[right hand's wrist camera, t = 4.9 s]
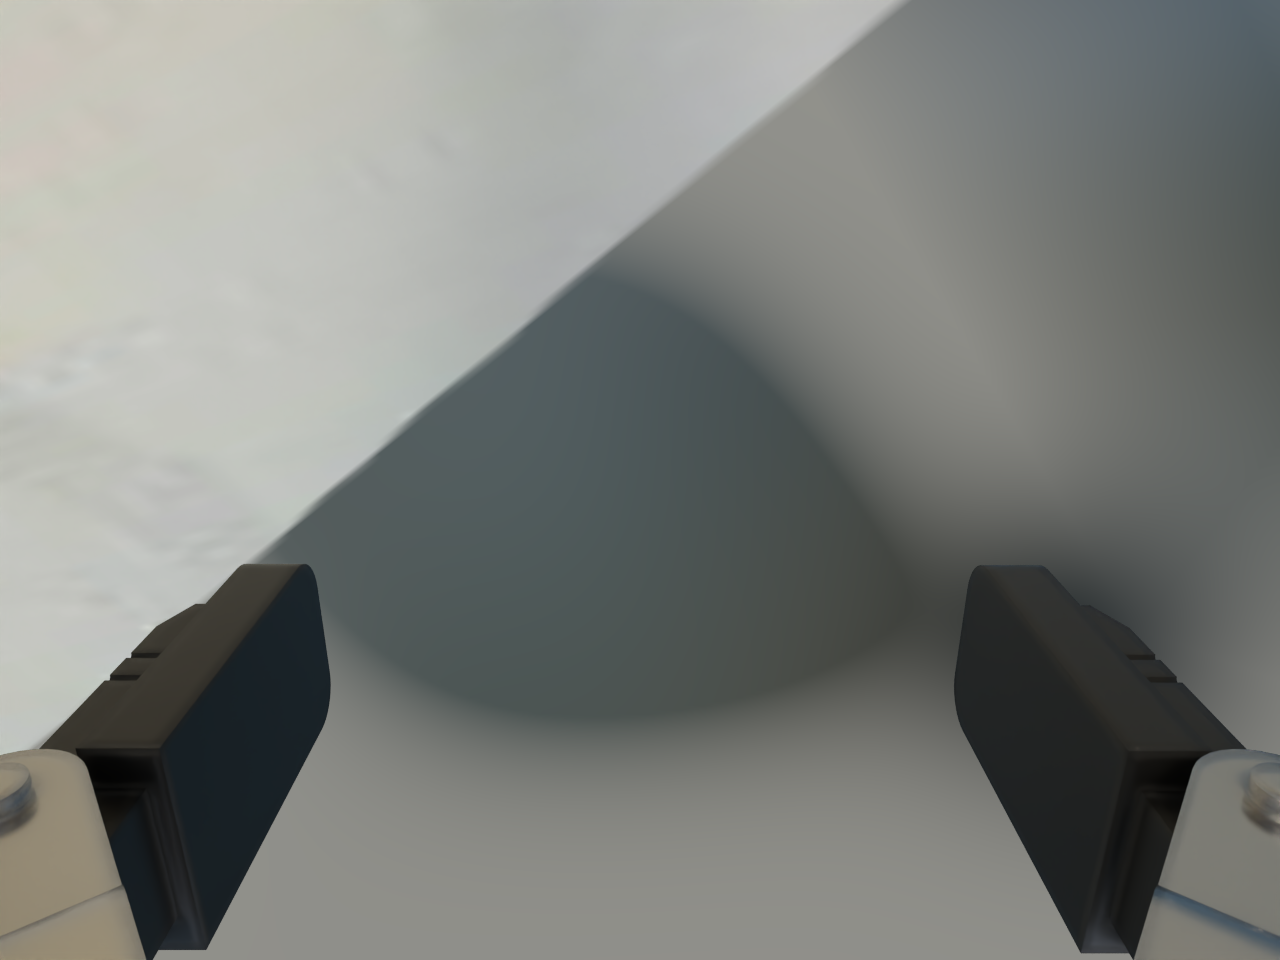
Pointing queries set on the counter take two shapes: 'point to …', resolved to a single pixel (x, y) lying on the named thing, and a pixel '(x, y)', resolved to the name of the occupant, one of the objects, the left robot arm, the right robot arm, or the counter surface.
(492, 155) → the counter surface
